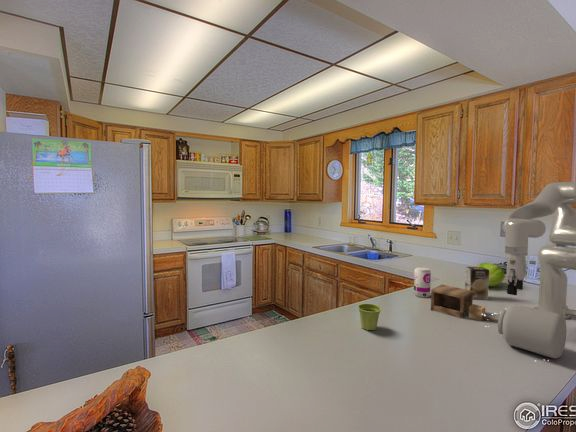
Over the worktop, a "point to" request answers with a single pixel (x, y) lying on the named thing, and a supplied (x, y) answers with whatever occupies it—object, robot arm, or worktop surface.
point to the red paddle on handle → (478, 313)
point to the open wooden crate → (451, 300)
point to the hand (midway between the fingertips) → (514, 291)
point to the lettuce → (493, 273)
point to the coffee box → (477, 282)
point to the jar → (533, 330)
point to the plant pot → (369, 315)
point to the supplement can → (422, 282)
